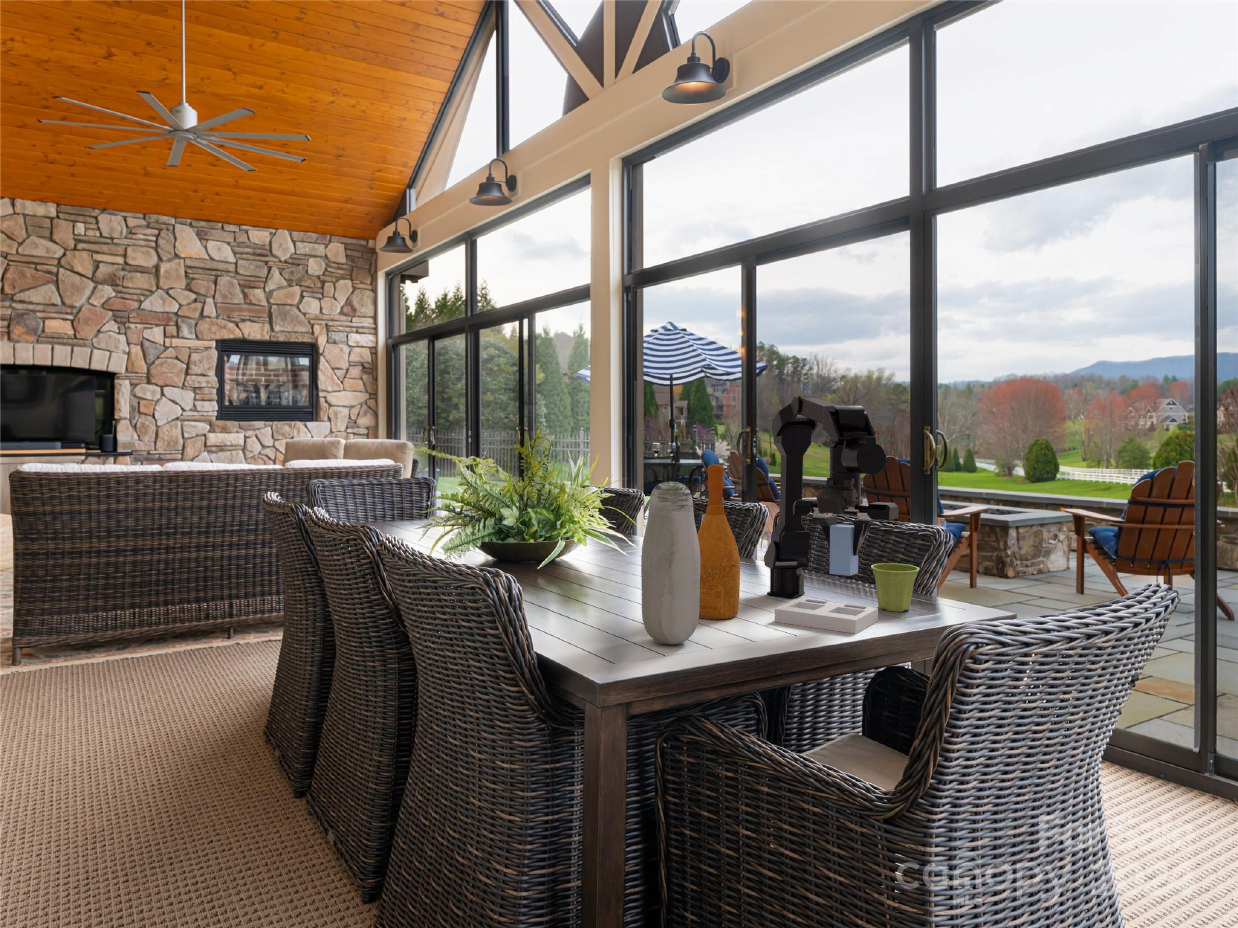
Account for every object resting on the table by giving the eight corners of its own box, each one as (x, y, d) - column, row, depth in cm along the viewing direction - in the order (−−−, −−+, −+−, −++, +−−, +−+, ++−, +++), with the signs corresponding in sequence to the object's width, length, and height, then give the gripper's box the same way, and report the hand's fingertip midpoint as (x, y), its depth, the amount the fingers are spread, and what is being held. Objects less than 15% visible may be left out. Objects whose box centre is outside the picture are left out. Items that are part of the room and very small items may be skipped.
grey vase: (704, 649, 145) (705, 483, 144) (643, 650, 144) (644, 483, 143) (694, 634, 155) (695, 479, 154) (638, 635, 154) (638, 479, 153)
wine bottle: (743, 611, 174) (745, 463, 172) (734, 622, 164) (735, 465, 163) (696, 608, 177) (697, 462, 175) (684, 618, 168) (685, 464, 166)
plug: (829, 573, 162) (830, 526, 162) (839, 570, 166) (839, 523, 166) (850, 575, 160) (850, 527, 160) (859, 572, 164) (860, 525, 164)
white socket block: (774, 621, 165) (774, 607, 165) (799, 610, 175) (800, 597, 175) (855, 633, 156) (855, 618, 156) (877, 621, 166) (878, 607, 166)
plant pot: (921, 614, 172) (922, 571, 171) (872, 612, 173) (873, 570, 173) (914, 605, 181) (915, 564, 180) (868, 603, 183) (869, 562, 182)
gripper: (780, 472, 161) (780, 555, 162) (879, 475, 150) (878, 564, 151) (805, 470, 170) (804, 548, 171) (899, 473, 159) (898, 557, 160)
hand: (844, 554), depth 163 cm, fingers closed on plug, 4 cm apart
